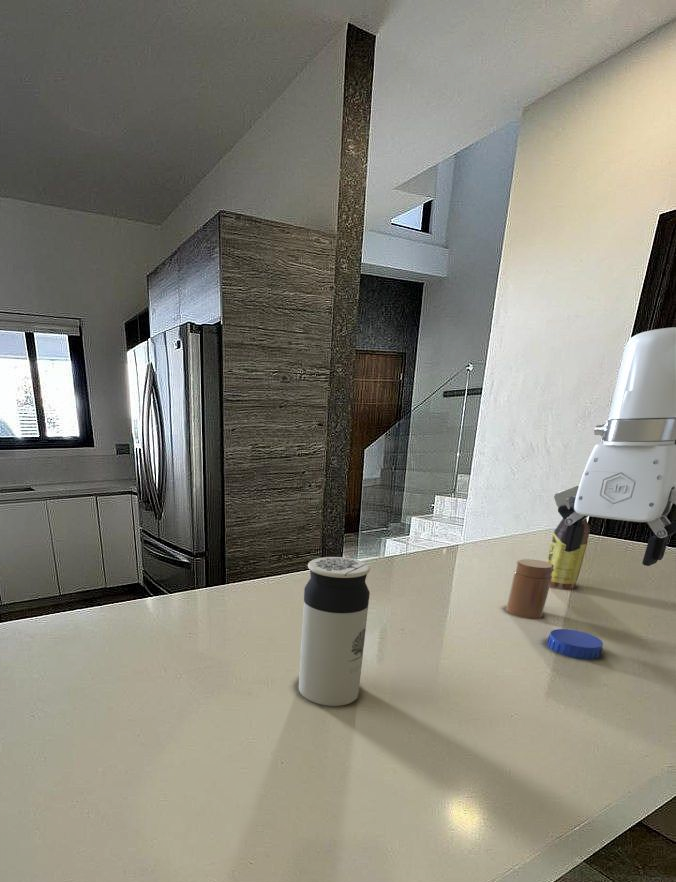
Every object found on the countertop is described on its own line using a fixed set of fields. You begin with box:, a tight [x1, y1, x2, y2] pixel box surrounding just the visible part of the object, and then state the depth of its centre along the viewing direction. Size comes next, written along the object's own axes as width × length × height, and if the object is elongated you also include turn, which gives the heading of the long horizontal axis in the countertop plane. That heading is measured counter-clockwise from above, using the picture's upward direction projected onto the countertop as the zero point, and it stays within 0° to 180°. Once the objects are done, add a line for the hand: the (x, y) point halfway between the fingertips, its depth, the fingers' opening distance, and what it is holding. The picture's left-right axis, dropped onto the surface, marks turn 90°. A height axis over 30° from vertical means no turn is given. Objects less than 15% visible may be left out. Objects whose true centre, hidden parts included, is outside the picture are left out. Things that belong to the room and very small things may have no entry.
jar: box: [505, 558, 554, 619], centre depth 89 cm, size 6×6×10 cm
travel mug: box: [298, 556, 371, 707], centre depth 62 cm, size 8×8×18 cm
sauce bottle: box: [546, 496, 591, 590], centre depth 102 cm, size 7×6×20 cm
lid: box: [546, 628, 604, 660], centre depth 76 cm, size 7×7×2 cm
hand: (608, 556), depth 70 cm, fingers open, 9 cm apart
